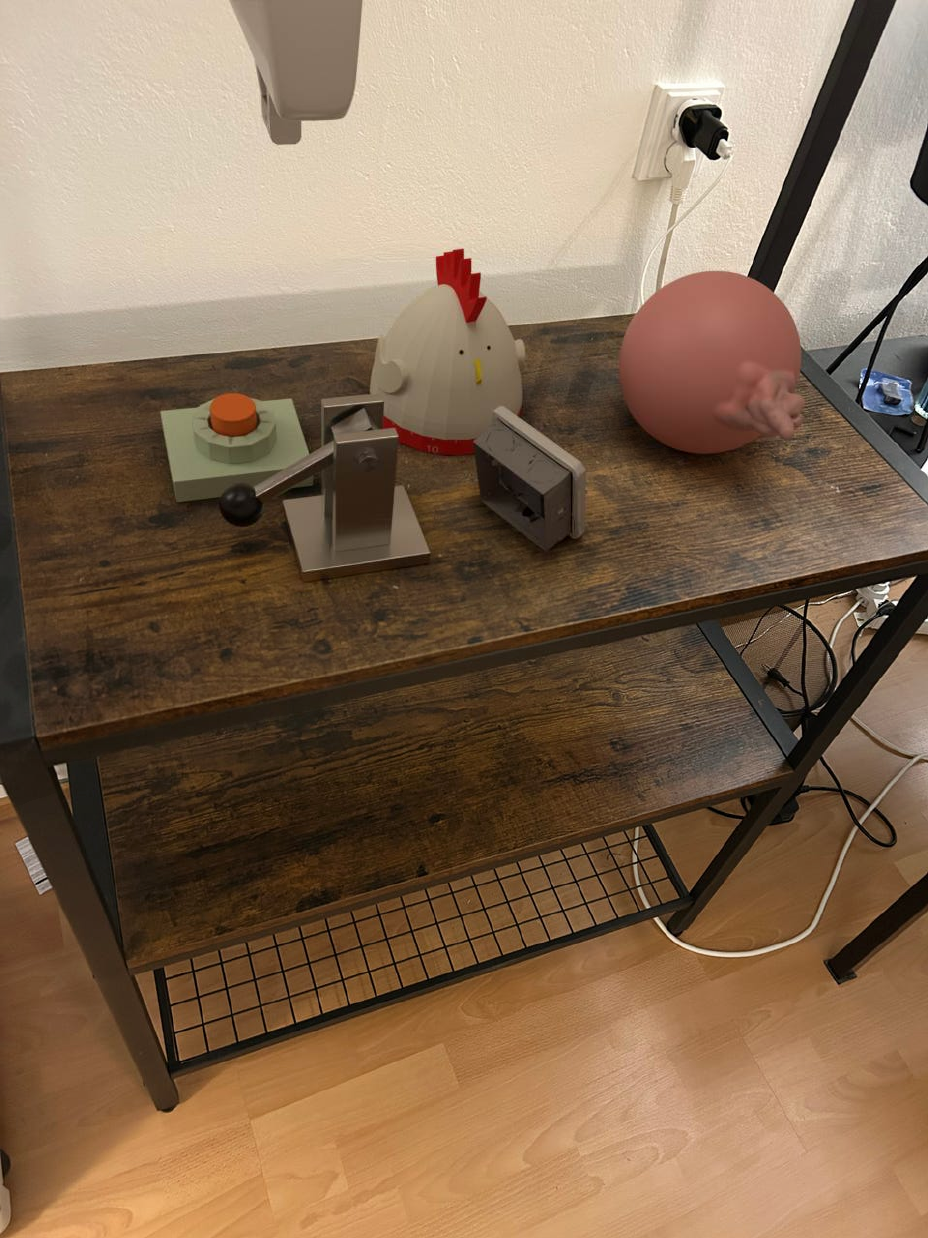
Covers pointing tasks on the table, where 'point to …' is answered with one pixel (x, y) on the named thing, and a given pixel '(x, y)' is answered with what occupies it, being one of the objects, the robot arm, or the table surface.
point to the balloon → (712, 364)
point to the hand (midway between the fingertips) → (281, 133)
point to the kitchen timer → (448, 364)
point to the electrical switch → (530, 480)
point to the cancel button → (233, 415)
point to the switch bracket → (356, 502)
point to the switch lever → (285, 476)
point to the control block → (230, 449)
